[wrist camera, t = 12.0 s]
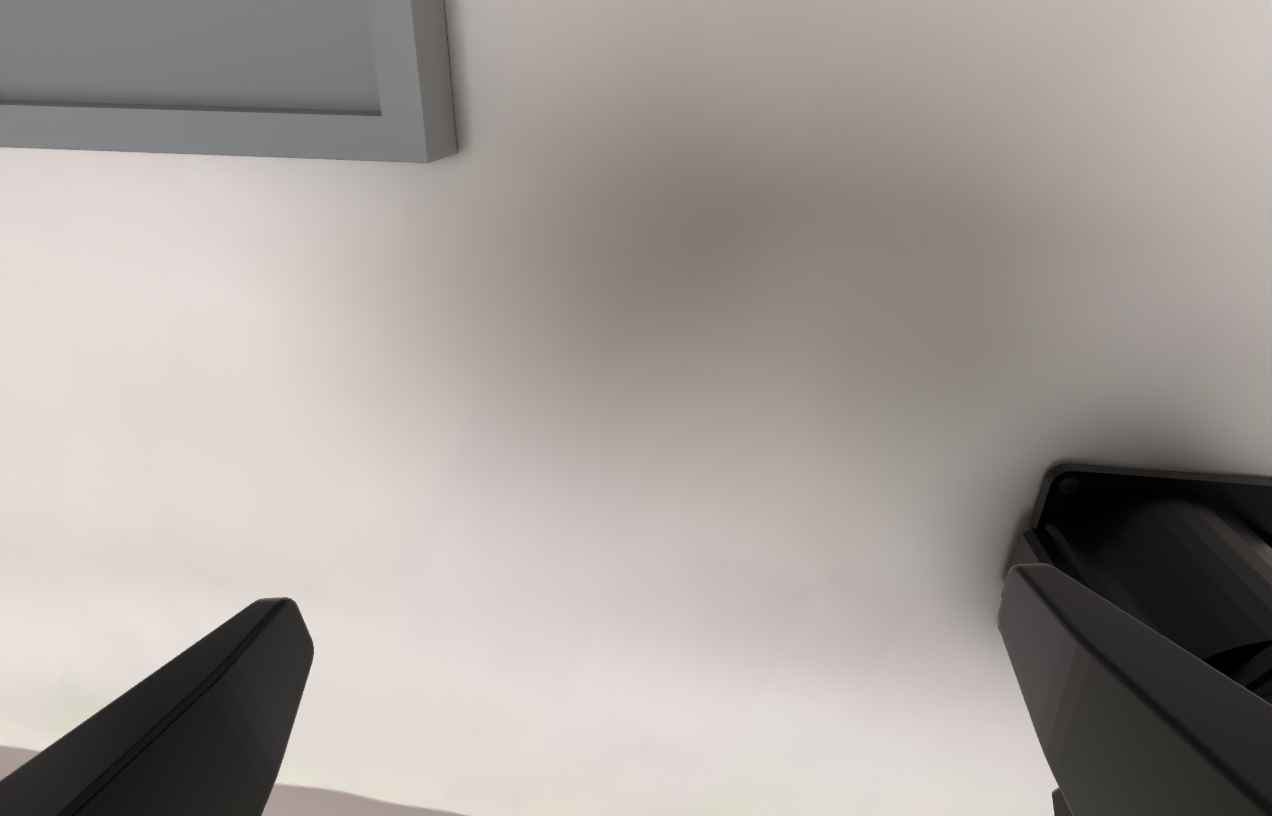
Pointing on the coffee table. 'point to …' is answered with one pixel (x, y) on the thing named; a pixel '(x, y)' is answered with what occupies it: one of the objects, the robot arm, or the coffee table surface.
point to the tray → (229, 78)
